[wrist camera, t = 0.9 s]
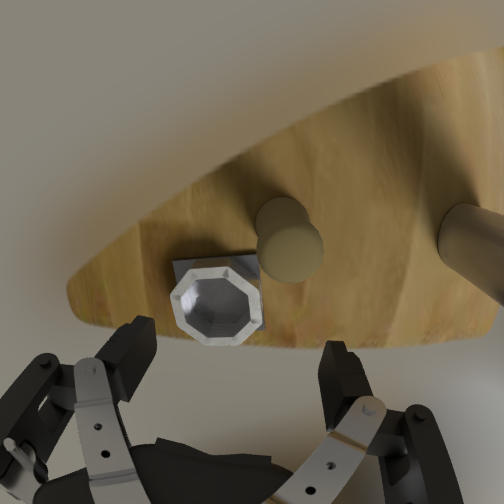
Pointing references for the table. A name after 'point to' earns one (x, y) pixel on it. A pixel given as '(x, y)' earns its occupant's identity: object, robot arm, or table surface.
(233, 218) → the table surface
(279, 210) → the cork
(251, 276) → the duct collar
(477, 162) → the table surface
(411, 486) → the robot arm
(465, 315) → the table surface
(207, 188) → the table surface
